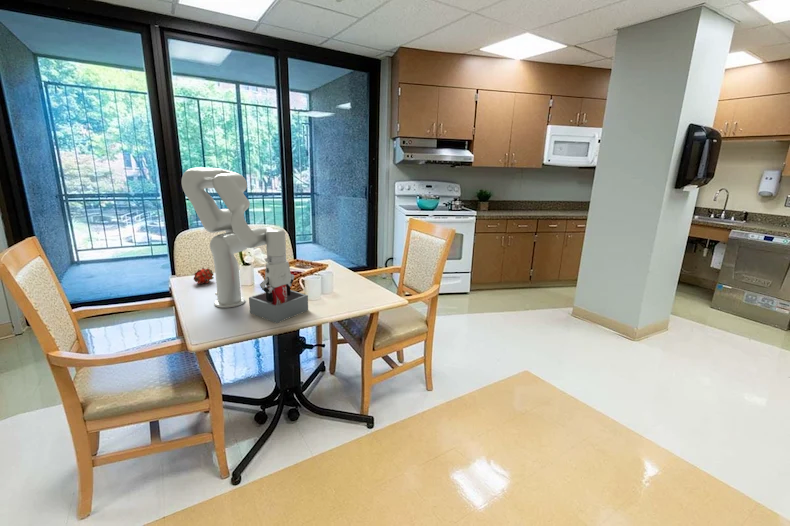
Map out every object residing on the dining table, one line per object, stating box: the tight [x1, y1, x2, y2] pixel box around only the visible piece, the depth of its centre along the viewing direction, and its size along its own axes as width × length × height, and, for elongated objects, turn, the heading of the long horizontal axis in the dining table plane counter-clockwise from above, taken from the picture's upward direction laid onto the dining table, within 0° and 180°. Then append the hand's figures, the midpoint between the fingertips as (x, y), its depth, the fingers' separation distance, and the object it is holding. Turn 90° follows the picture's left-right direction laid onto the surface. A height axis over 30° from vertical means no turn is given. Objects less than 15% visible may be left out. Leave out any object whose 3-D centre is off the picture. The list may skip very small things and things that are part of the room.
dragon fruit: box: [193, 267, 215, 285], centre depth 188 cm, size 8×8×12 cm
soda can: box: [269, 284, 287, 305], centre depth 155 cm, size 7×7×12 cm
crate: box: [248, 289, 309, 324], centre depth 156 cm, size 17×17×7 cm
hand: (278, 298), depth 155 cm, fingers open, 9 cm apart
